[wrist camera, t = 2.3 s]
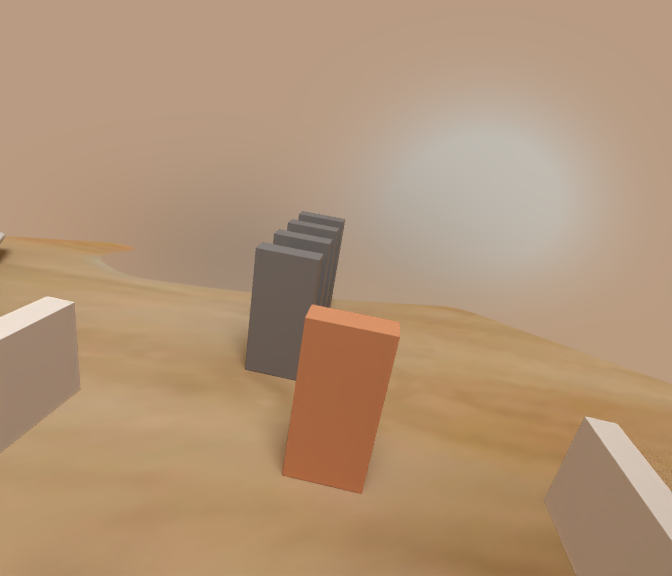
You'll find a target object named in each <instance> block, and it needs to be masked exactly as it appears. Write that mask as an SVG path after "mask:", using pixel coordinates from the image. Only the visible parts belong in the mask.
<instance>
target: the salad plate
mask: <svg viewBox="0 0 672 576" xmlns="http://www.w3.org/2000/svg"><path fill="white" fill-rule="evenodd" d="M4 238H5V234H4V233H2V232H0V244H1V242H2V241H3V239H4Z"/></svg>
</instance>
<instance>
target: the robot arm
mask: <svg viewBox="0 0 672 576" xmlns="http://www.w3.org/2000/svg"><path fill="white" fill-rule="evenodd" d="M79 390H80V375H79V361H78V346H77V331H76V317H75V302H71V301H66V300H62V299H57V298H53V297H48V296H47V297H44V298H42V299H40V300H38V301H35V302H33V303H31V304H29V305H26V306H24V307H22V308H20V309H17V310H15V311H13V312H11V313H9V314H6V315H4V316H2V317H0V453H1V452H2V451H4V450H5V449H6V448H7V447H9V446H10V445H11V444H13V443H14V442H15V441H16V440H18V439H19V438H20V437H21V436H23V435H24V434H25V433H26V432H28V431H29V430H30V429H31V428H33V427H34V426H35V425H37V424H38V423H39V422H40V421H42V420H43V419H44V418H45V417H47V416H48V415H49V414H50V413H52V412H53V411H54V410H55V409H57V408H58V407H59V406H61V405H62V404H63V403H64V402H66V401H67V400H68V399H69V398H71V397H72V396H73V395H74V394H76V393H77V392H78V391H79ZM544 502H545V504H546V506H547V509H548V511H549V513H550V516H551V518H552V521H553V523H554V525H555V528H556V530H557V532H558V535H559V537H560V539H561V542H562V544H563V547H564V549H565V551H566V554H567V556H568V558H569V561H570V563H571V565H572V568H573V570H574V573H575V575H576V576H672V492H671V491H670V489H669V488H668V487H667V486H666V484H665V483H664V482H663V481H662V479H661V478H660V477H659V476H658V474H657V473H656V472H655V470H654V469H653V468H652V467H651V465H650V464H649V463H648V462H647V460H646V459H645V458H644V457H643V455H642V454H641V453H640V452H639V450H638V449H637V448H636V447H635V445H634V444H633V443H632V442H631V440H630V439H629V438H628V437H627V435H626V434H625V433H624V432H623V430H622V429H621V428H620V427H619V425H618V424H616V423H612V422H607V421H603V420H598V419H594V418H589V417H584V419H583V421H582V423H581V425H580V427H579V429H578V431H577V433H576V435H575V437H574V439H573V441H572V443H571V445H570V447H569V450H568V452H567V454H566V456H565V458H564V460H563V462H562V464H561V466H560V468H559V470H558V472H557V474H556V476H555V478H554V480H553V482H552V484H551V486H550V488H549V490H548V492H547V494H546V496H545V499H544Z"/></svg>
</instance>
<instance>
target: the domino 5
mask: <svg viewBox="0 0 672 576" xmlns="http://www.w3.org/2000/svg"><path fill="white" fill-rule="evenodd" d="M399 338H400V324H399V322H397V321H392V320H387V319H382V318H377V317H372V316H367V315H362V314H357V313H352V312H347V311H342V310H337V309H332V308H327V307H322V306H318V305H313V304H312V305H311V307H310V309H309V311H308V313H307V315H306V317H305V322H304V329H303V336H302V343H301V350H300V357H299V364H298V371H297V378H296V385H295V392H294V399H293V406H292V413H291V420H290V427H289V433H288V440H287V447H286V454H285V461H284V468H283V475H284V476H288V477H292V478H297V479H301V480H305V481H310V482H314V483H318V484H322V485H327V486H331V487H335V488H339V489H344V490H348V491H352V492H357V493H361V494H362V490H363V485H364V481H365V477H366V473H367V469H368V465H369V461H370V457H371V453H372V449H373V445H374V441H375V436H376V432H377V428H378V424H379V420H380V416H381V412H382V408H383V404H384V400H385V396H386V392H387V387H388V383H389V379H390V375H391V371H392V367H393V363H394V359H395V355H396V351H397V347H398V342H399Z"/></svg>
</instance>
